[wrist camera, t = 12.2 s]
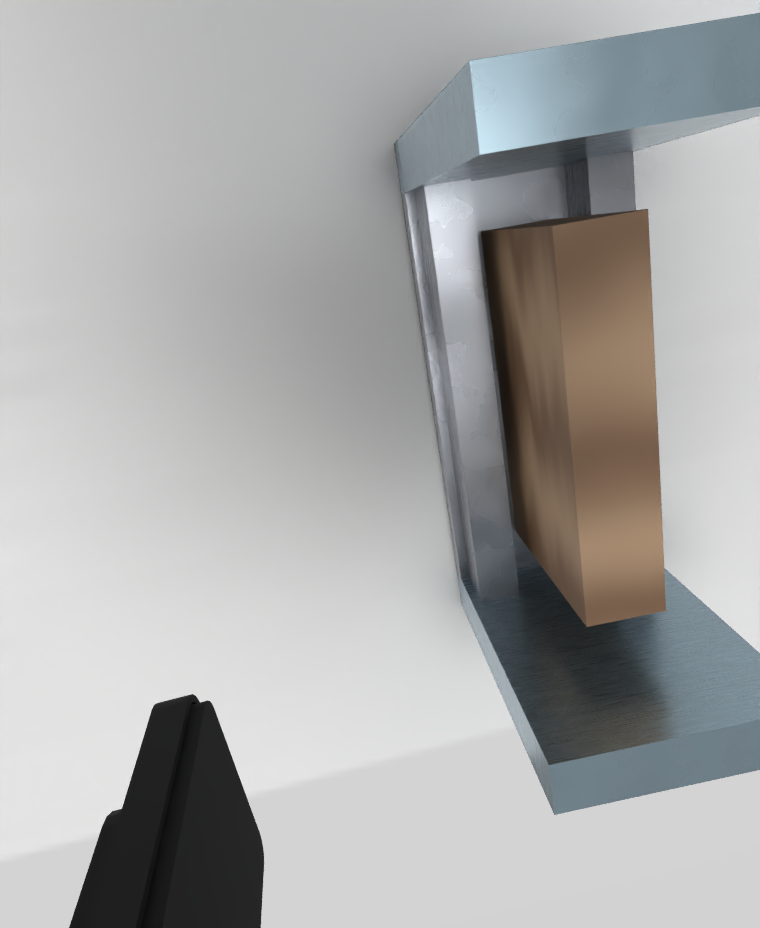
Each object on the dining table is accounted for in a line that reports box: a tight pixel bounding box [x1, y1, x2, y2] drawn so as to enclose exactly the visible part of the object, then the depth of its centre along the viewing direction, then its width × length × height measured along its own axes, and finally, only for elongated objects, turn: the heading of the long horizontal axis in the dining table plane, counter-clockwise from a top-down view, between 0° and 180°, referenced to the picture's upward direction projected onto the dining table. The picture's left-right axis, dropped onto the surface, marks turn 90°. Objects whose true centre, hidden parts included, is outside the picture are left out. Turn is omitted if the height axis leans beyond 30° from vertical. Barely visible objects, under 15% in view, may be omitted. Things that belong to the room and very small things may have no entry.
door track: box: [394, 13, 760, 815], centre depth 26 cm, size 22×9×14 cm, turn 10°
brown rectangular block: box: [481, 209, 666, 627], centre depth 28 cm, size 14×3×9 cm, turn 10°
